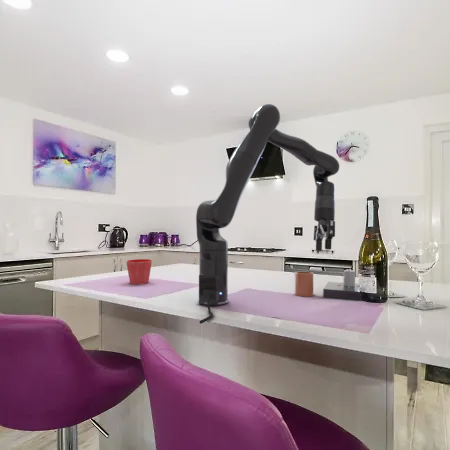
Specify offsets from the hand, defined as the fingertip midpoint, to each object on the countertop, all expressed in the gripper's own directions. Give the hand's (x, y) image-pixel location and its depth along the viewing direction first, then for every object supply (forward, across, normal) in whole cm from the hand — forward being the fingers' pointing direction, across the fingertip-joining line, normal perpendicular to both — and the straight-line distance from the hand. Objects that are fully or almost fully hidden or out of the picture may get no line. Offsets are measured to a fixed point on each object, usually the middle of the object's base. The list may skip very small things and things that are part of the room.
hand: (323, 250), depth 126 cm
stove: (+16, +3, +7) cm, 17 cm away
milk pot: (+17, +2, -7) cm, 19 cm away
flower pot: (+19, -29, -70) cm, 78 cm away
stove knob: (+12, +3, +9) cm, 16 cm away
